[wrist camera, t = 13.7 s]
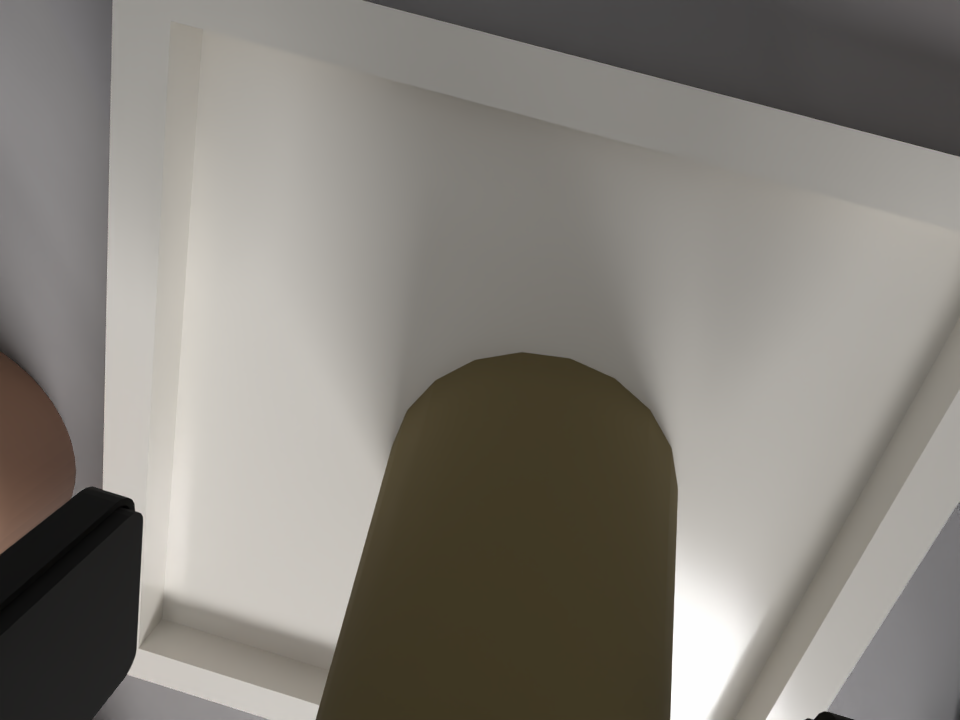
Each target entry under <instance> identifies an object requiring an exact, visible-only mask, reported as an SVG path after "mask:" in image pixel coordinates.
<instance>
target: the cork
mask: <svg viewBox="0 0 960 720" xmlns="http://www.w3.org/2000/svg"><path fill="white" fill-rule="evenodd" d="M677 506H678V485H677V479H676V472H675V466H674V459H673V453H672V448H671V446H670V444H669V442H668V441H667V439H666V437H665V435H664V433H663V432H662V430H661V428H660V426H659V425H658V423H657V421H656V419H655V417H654V416H653V414H652V412H651V410H650V409H649V408H648V407H647V406H645V405H644V404H643V403H642V402H641V401H640V400H639V399H638V398H636V397H635V396H634V395H633V394H632V393H631V392H630V391H629V390H627V389H626V388H625V387H624V386H623V385H622V384H621V383H620V382H618V381H617V380H616V379H615V378H613V377H611V376H608V375H606V374H604V373H602V372H600V371H597V370H595V369H593V368H591V367H588V366H586V365H584V364H582V363H579V362H577V361H575V360H573V359H571V358H563V357H556V356H548V355H541V354H533V353H525V352H519V353H513V354H507V355H501V356H495V357H489V358H483V359H477V360H474V361H472V362H470V363H468V364H466V365H464V366H462V367H460V368H458V369H456V370H454V371H452V372H450V373H448V374H446V375H445V376H443V377H441V378H439V379H437V380H435V381H434V382H433V383H432V384H431V385H430V386H429V388H428V389H427V390H426V391H425V392H424V393H423V394H422V395H421V396H420V397H419V398H418V399H417V400H416V401H415V402H414V403H413V404H412V406H411V407H410V408H409V409H408V410H407V412H406V414H405V416H404V419H403V421H402V423H401V426H400V428H399V431H398V433H397V435H396V438H395V440H394V443H393V445H392V448H391V451H390V455H389V459H388V462H387V466H386V469H385V473H384V476H383V480H382V484H381V487H380V491H379V494H378V498H377V502H376V505H375V509H374V512H373V516H372V519H371V523H370V527H369V530H368V534H367V537H366V541H365V544H364V548H363V552H362V555H361V559H360V562H359V566H358V570H357V573H356V577H355V580H354V584H353V587H352V591H351V595H350V598H349V602H348V605H347V609H346V612H345V616H344V620H343V623H342V627H341V630H340V634H339V638H338V641H337V645H336V648H335V652H334V655H333V659H332V663H331V666H330V670H329V673H328V677H327V681H326V684H325V688H324V691H323V695H322V698H321V702H320V706H319V709H318V713H317V716H316V720H670V716H671V686H672V656H673V626H674V596H675V566H676V536H677Z"/></svg>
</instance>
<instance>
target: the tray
mask: <svg viewBox="0 0 960 720" xmlns="http://www.w3.org/2000/svg"><path fill="white" fill-rule="evenodd" d="M519 352H525V353H533V354H541V355H548V356H556V357H563V358H571V359H573V360H575V361H577V362H579V363H582V364H584V365H586V366H588V367H591V368H593V369H595V370H597V371H600V372H602V373H604V374H606V375H608V376H611V377H613V378H615V379H616V380H617V381H618V382H620V383H621V384H622V385H623V386H624V387H625V388H626V389H627V390H629V391H630V392H631V393H632V394H633V395H634V396H635V397H636V398H638V399H639V400H640V401H641V402H642V403H643V404H644V405H645V406H647V407H648V408H649V409H650V410H651V412H652V414H653V416H654V417H655V419H656V421H657V423H658V425H659V426H660V428H661V430H662V432H663V433H664V435H665V437H666V439H667V441H668V442H669V444H670V446H671V448H672V453H673V459H674V466H675V472H676V479H677V485H678V506H677V536H676V566H675V596H674V626H673V656H672V686H671V716H670V720H805V719H807V718H810V719H815V718H816V716H817V715H818V714H819V713H821V712H823V711H827V710H828V708H829V707H830V705H831V703H832V702H833V700H834V699H835V697H836V696H837V694H838V692H839V691H840V689H841V688H842V686H843V685H844V683H845V681H846V680H847V678H848V677H849V675H850V673H851V672H852V670H853V669H854V667H855V666H856V664H857V662H858V661H859V659H860V658H861V656H862V655H863V653H864V651H865V650H866V648H867V647H868V645H869V644H870V642H871V640H872V639H873V637H874V636H875V634H876V632H877V631H878V629H879V628H880V626H881V625H882V623H883V621H884V620H885V618H886V617H887V615H888V614H889V612H890V610H891V609H892V607H893V606H894V604H895V603H896V601H897V599H898V598H899V596H900V595H901V593H902V591H903V590H904V588H905V587H906V585H907V584H908V582H909V580H910V579H911V577H912V576H913V574H914V573H915V571H916V569H917V568H918V566H919V565H920V563H921V562H922V560H923V558H924V557H925V555H926V554H927V552H928V550H929V549H930V547H931V546H932V544H933V543H934V541H935V539H936V538H937V536H938V535H939V533H940V532H941V530H942V528H943V527H944V525H945V524H946V522H947V521H948V519H949V517H950V516H951V514H952V513H953V511H954V509H955V508H956V506H957V505H958V503H959V502H960V157H958V156H955V155H951V154H947V153H943V152H939V151H936V150H932V149H928V148H924V147H920V146H917V145H913V144H909V143H905V142H901V141H897V140H894V139H890V138H886V137H882V136H878V135H875V134H871V133H867V132H863V131H859V130H855V129H852V128H848V127H844V126H840V125H836V124H833V123H829V122H825V121H821V120H817V119H814V118H810V117H806V116H802V115H798V114H794V113H791V112H787V111H783V110H779V109H775V108H772V107H768V106H764V105H760V104H756V103H752V102H749V101H745V100H741V99H737V98H733V97H730V96H726V95H722V94H718V93H714V92H710V91H707V90H703V89H699V88H695V87H691V86H688V85H684V84H680V83H676V82H672V81H669V80H665V79H661V78H657V77H653V76H649V75H646V74H642V73H638V72H634V71H630V70H627V69H623V68H619V67H615V66H611V65H607V64H604V63H600V62H596V61H592V60H588V59H585V58H581V57H577V56H573V55H569V54H566V53H562V52H558V51H554V50H550V49H546V48H543V47H539V46H535V45H531V44H527V43H524V42H520V41H516V40H512V39H508V38H504V37H501V36H497V35H493V34H489V33H485V32H482V31H478V30H474V29H470V28H466V27H462V26H459V25H455V24H451V23H447V22H443V21H440V20H436V19H432V18H428V17H424V16H421V15H417V14H413V13H409V12H405V11H401V10H398V9H394V8H390V7H386V6H382V5H379V4H375V3H371V2H367V1H363V0H113V8H112V58H111V107H110V157H109V206H108V256H107V305H106V355H105V404H104V454H103V490H105V491H108V492H112V493H115V494H118V495H121V496H125V497H128V498H130V499H132V500H133V502H134V504H135V511H136V512H139V513H141V514H142V516H143V536H142V555H141V574H140V594H139V613H138V632H137V650H136V655H135V659H134V661H133V664H132V666H131V668H130V670H129V672H128V673H127V675H130V676H133V677H137V678H140V679H143V680H146V681H149V682H152V683H156V684H159V685H162V686H165V687H168V688H171V689H175V690H178V691H181V692H184V693H187V694H190V695H194V696H197V697H200V698H203V699H206V700H209V701H212V702H216V703H219V704H222V705H225V706H228V707H231V708H235V709H238V710H241V711H244V712H247V713H250V714H254V715H257V716H260V717H263V718H266V719H269V720H316V716H317V713H318V709H319V706H320V702H321V698H322V695H323V691H324V688H325V684H326V681H327V677H328V673H329V670H330V666H331V663H332V659H333V655H334V652H335V648H336V645H337V641H338V638H339V634H340V630H341V627H342V623H343V620H344V616H345V612H346V609H347V605H348V602H349V598H350V595H351V591H352V587H353V584H354V580H355V577H356V573H357V570H358V566H359V562H360V559H361V555H362V552H363V548H364V544H365V541H366V537H367V534H368V530H369V527H370V523H371V519H372V516H373V512H374V509H375V505H376V502H377V498H378V494H379V491H380V487H381V484H382V480H383V476H384V473H385V469H386V466H387V462H388V459H389V455H390V451H391V448H392V445H393V443H394V440H395V438H396V435H397V433H398V431H399V428H400V426H401V423H402V421H403V419H404V416H405V414H406V412H407V410H408V409H409V408H410V407H411V406H412V404H413V403H414V402H415V401H416V400H417V399H418V398H419V397H420V396H421V395H422V394H423V393H424V392H425V391H426V390H427V389H428V388H429V386H430V385H431V384H432V383H433V382H434V381H435V380H437V379H439V378H441V377H443V376H445V375H446V374H448V373H450V372H452V371H454V370H456V369H458V368H460V367H462V366H464V365H466V364H468V363H470V362H472V361H474V360H477V359H483V358H489V357H495V356H501V355H507V354H513V353H519Z"/></svg>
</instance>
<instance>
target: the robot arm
mask: <svg viewBox="0 0 960 720" xmlns="http://www.w3.org/2000/svg"><path fill="white" fill-rule="evenodd" d="M142 536H143V516H142V514H141V513H139V512H136V511H135V504H134V502H133V500H132V499H130V498H128V497H125V496H121V495H118V494H115V493H112V492H108V491H105V490H102V489H99V488H95V487H88V488H85V489H84V490H82V491H80V492H79V493H78V494H77V495H75V496H74V497H73V498H71V499H70V500H69V501H68V502H66V503H65V504H64V505H63V506H61V507H60V508H59V509H57V510H56V511H55V512H54V513H52V514H51V515H50V516H49V517H47V518H46V519H45V520H43V521H42V522H41V523H40V524H38V525H37V526H36V527H35V528H33V529H32V530H31V531H29V532H28V533H27V534H26V535H24V536H23V537H22V538H21V539H19V540H18V541H17V542H15V543H14V544H13V545H12V546H10V547H9V548H8V549H7V550H5V551H4V552H3V553H1V554H0V720H92V718H93V717H94V716H95V715H96V713H97V712H98V711H99V710H100V708H101V707H102V706H103V705H104V703H105V702H106V701H107V699H108V698H109V697H110V696H111V694H112V693H113V692H114V691H115V689H116V688H117V687H118V686H119V684H120V683H121V682H122V681H123V679H124V678H125V676H126V675H127V673H128V672H129V670H130V668H131V666H132V664H133V661H134V659H135V655H136V650H137V632H138V613H139V594H140V574H141V555H142ZM805 720H853V719H850V718H847V717H843V716H840V715H837V714H834V713H830V712H826V711H823V712H821V713H819V714H818V715H817V716H816V718H815V719H810V718H807V719H805Z"/></svg>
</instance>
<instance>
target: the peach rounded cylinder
mask: <svg viewBox="0 0 960 720" xmlns="http://www.w3.org/2000/svg"><path fill="white" fill-rule="evenodd" d="M75 476H76V467H75V457H74V452H73V447H72V443H71V440H70V437H69V434H68V431H67V429H66V427H65V425H64V423H63V421H62V418H61V416H60V415H59V413H58V411H57V410H56V408H55V406H54V405H53V403H52V402H51V400H50V399H49V398H48V396H47V395H46V394H45V392H44V391H43V390H42V388H41V387H40V386H39V385H38V384H37V383H36V382H35V381H34V379H33V378H32V377H31V376H30V375H29V374H28V373H27V372H26V371H24V370H23V369H22V368H21V367H20V366H19V365H18V364H17V363H15V362H14V361H13V360H11V359H10V358H9V357H7V356H6V355H5V354H3V353H2V352H0V554H1V553H3V552H4V551H5V550H7V549H8V548H9V547H10V546H12V545H13V544H14V543H15V542H17V541H18V540H19V539H21V538H22V537H23V536H24V535H26V534H27V533H28V532H29V531H31V530H32V529H33V528H35V527H36V526H37V525H38V524H40V523H41V522H42V521H43V520H45V519H46V518H47V517H49V516H50V515H51V514H52V513H54V512H55V511H56V510H57V509H59V508H60V507H61V506H63V505H64V504H65V503H66V502H68V501H69V500H70V499H71V497H72V494H73V490H74V486H75Z"/></svg>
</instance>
